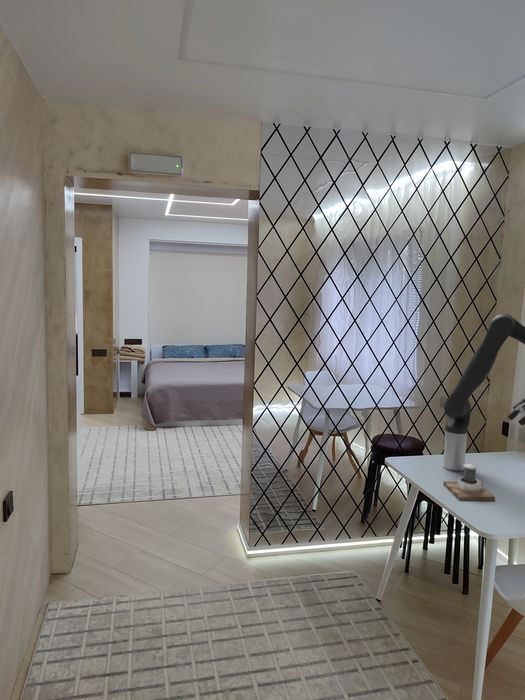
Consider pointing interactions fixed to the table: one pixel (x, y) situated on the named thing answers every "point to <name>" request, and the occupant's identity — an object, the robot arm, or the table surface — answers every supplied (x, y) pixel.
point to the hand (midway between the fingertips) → (514, 421)
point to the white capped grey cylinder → (469, 473)
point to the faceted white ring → (468, 486)
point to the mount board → (461, 495)
